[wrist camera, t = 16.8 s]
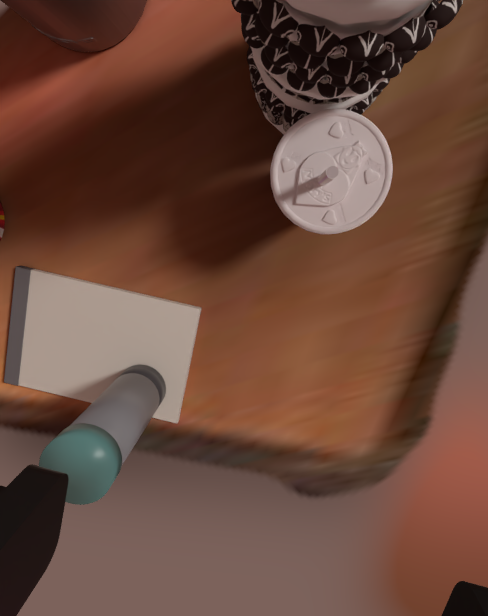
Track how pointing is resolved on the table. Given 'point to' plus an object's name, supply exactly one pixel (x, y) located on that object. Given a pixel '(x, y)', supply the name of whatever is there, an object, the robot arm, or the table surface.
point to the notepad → (95, 337)
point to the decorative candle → (332, 50)
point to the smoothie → (331, 171)
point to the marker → (105, 434)
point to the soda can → (1, 221)
